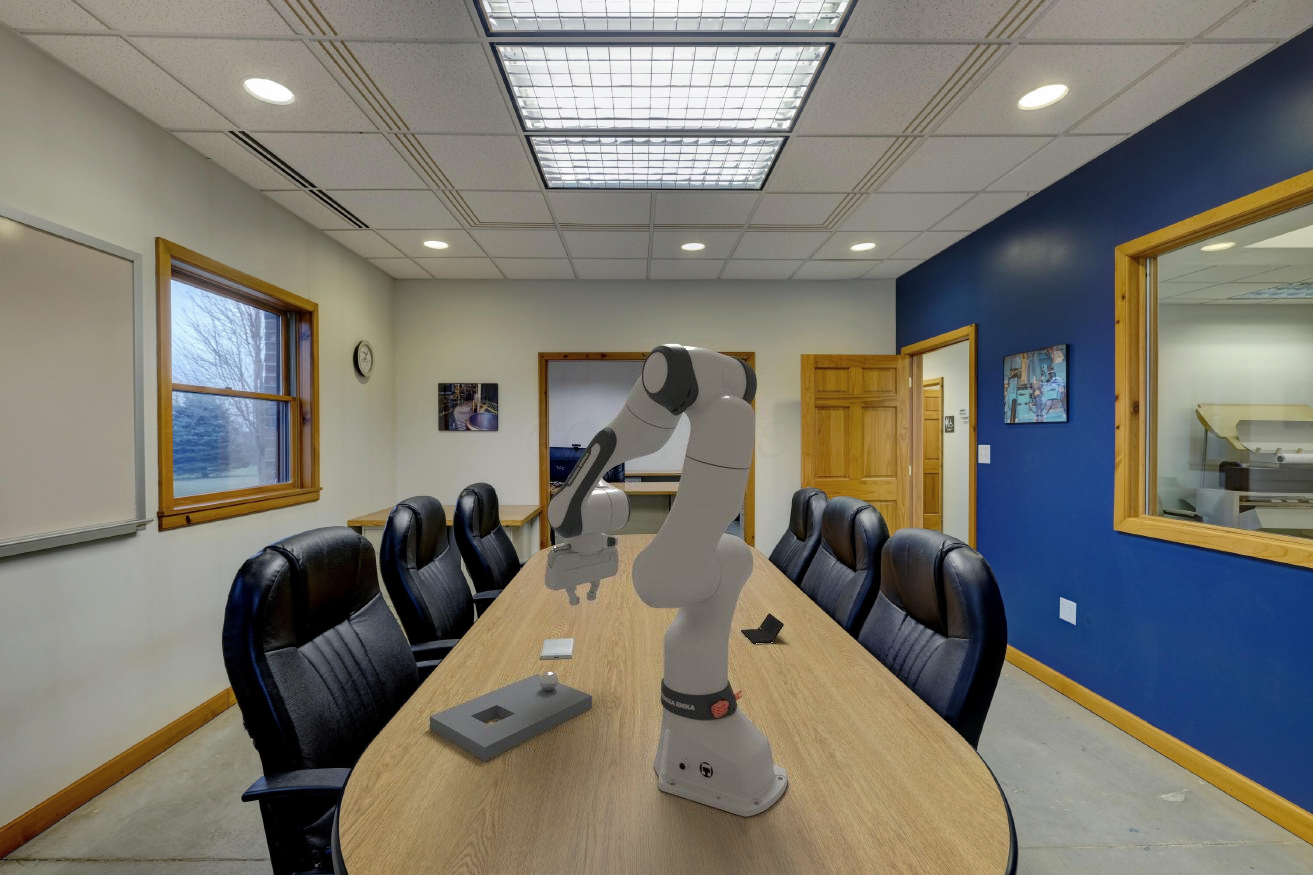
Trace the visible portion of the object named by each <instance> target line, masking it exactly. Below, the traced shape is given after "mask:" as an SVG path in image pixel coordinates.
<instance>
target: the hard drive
mask: <svg viewBox="0 0 1313 875" xmlns="http://www.w3.org/2000/svg"><path fill="white" fill-rule="evenodd" d="M574 647H575V639H574V638H571V637H570V638H567V637H566V638H548V639H544V642H543V645H542V649H541V652H540V657H539V660H542V661H543V660H562V659H573V653H574Z"/></svg>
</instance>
